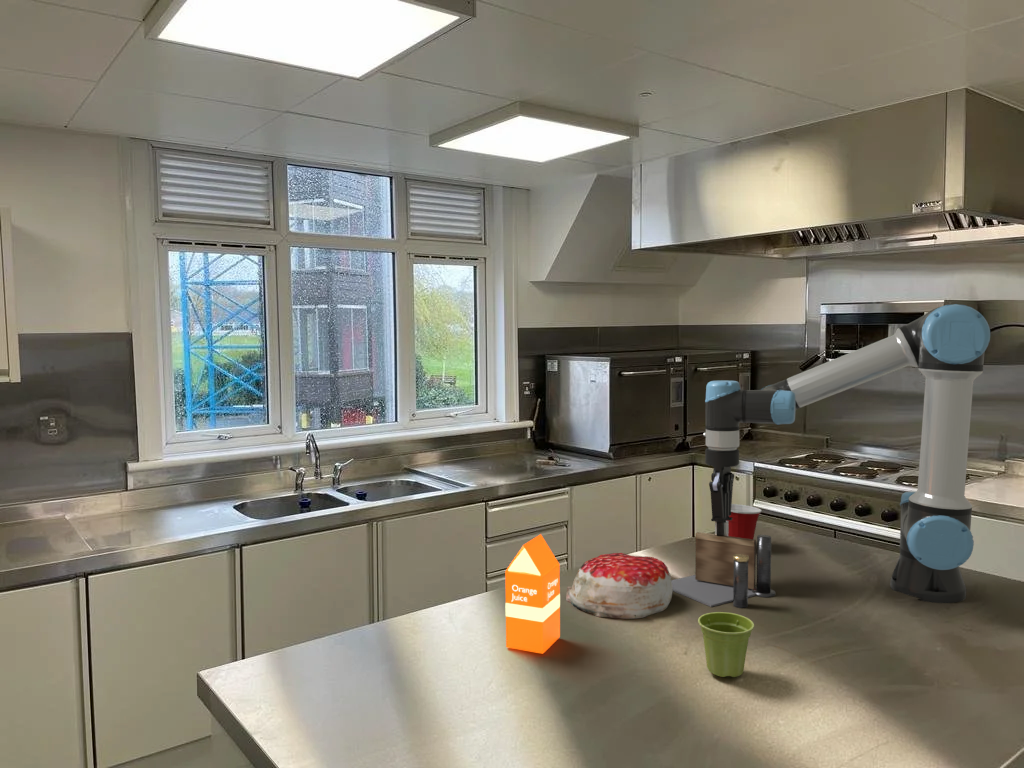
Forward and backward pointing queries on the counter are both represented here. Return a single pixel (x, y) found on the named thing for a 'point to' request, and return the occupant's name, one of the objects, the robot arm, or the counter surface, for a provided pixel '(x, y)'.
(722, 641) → the plant pot
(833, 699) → the counter surface
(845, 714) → the counter surface
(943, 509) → the robot arm
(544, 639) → the orange juice
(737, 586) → the salt and pepper shakers
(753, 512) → the plastic cup
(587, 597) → the strawberry shortcake
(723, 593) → the rubber mat
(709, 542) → the gate
